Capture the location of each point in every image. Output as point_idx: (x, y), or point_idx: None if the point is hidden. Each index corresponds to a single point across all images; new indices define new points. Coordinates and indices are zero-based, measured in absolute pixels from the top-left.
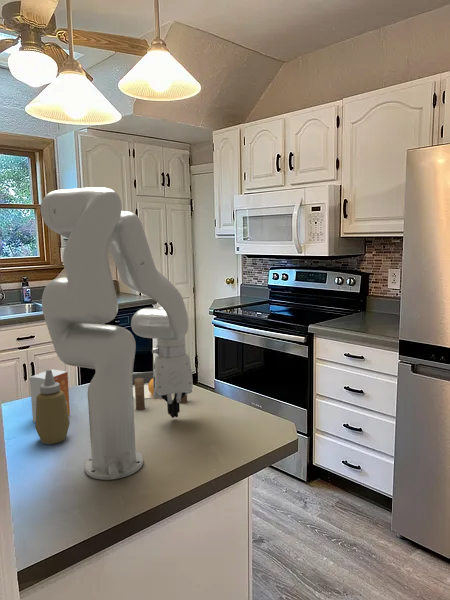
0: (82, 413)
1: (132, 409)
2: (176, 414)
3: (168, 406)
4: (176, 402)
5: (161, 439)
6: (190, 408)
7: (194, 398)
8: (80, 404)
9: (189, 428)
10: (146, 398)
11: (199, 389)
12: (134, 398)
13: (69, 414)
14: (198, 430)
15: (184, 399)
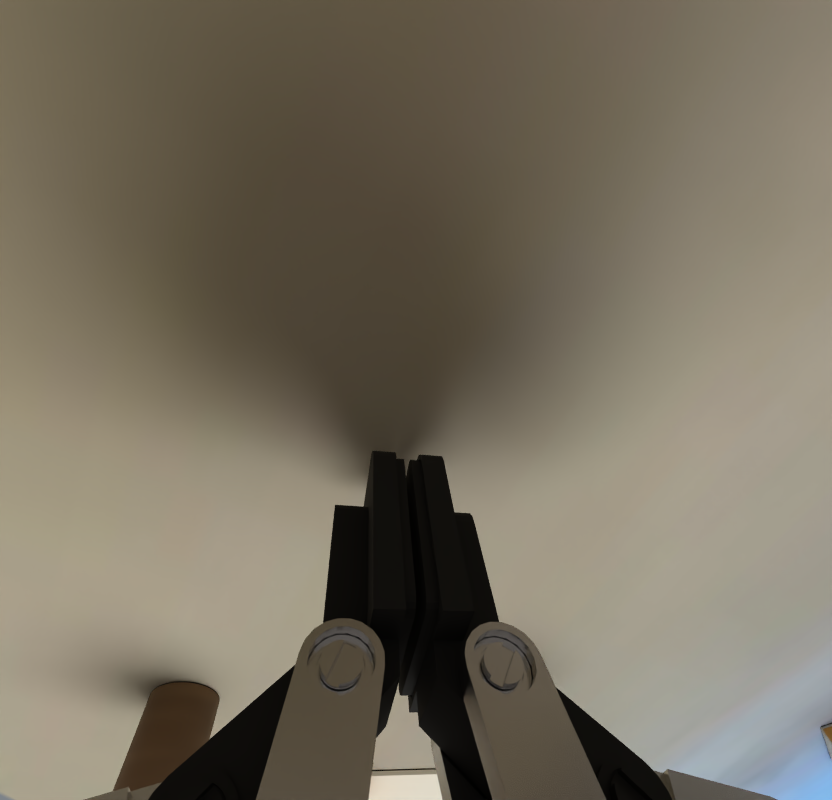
0: (767, 726)
1: None
2: (394, 471)
3: (484, 604)
4: (374, 637)
5: (807, 54)
6: (152, 606)
7: (77, 717)
8: None
9: (319, 182)
10: (396, 772)
11: (14, 793)
12: None
13: (827, 731)
14: (214, 13)
15: (166, 717)
